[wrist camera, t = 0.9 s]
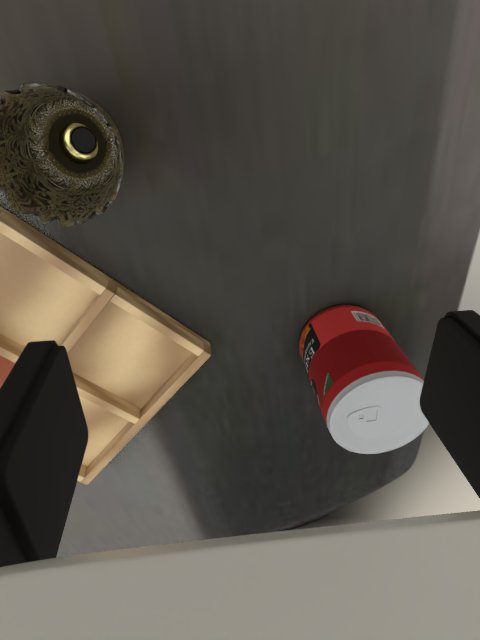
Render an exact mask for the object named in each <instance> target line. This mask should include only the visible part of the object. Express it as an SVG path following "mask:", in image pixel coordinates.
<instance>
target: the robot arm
mask: <svg viewBox="0 0 480 640" xmlns="http://www.w3.org/2000/svg"><path fill="white" fill-rule="evenodd" d="M420 408H421V411H422V413H423V414H424V416H425V417H426V419H427V420H428V422H429V423H430V425H431V426H432V428H433V429H434V431H435V432H436V434H437V435H438V437H439V438H440V440H441V441H442V443H443V444H444V446H445V447H446V449H447V450H448V452H449V453H450V455H451V456H452V458H453V459H454V461H455V462H456V463H457V465H458V467H459V468H460V470H461V471H462V473H463V474H464V476H465V477H466V478H467V480H468V482H469V483H470V484H471V486H472V487H473V489H474V490H475V492H476V493H477V495H478V496H479V498H480V315H478V314H477V313H476V312H474V311H473V310H467V311H453V312H448V313H447V314H446V315H445V317H444V318H441V319H440V320H439V322H438V325H437V329H436V333H435V338H434V342H433V346H432V350H431V354H430V358H429V362H428V367H427V371H426V375H425V379H424V383H423V387H422V391H421V396H420ZM87 443H88V427H87V423H86V419H85V416H84V412H83V409H82V405H81V401H80V398H79V394H78V390H77V387H76V383H75V380H74V376H73V372H72V369H71V365H70V361H69V358H68V354H67V351H66V348H65V347H64V346H58V344H57V343H56V341H54V340H49V341H35V342H28V344H27V345H26V346H25V348H24V350H23V351H22V353H21V355H20V356H19V358H18V360H17V361H16V363H15V365H14V366H13V368H12V370H11V371H10V373H9V375H8V377H7V378H6V380H5V382H4V383H3V385H2V387H1V388H0V640H480V511H472V512H462V513H451V514H441V515H432V516H422V517H412V518H403V519H393V520H383V521H373V522H364V523H354V524H345V525H335V526H326V527H317V528H307V529H299V530H289V531H280V532H270V533H261V534H252V535H243V536H234V537H225V538H216V539H207V540H198V541H189V542H181V543H172V544H163V545H154V546H145V547H136V548H128V549H120V550H112V551H104V552H97V553H89V554H81V555H73V556H65V557H58V558H56V555H57V552H58V548H59V544H60V541H61V537H62V533H63V530H64V526H65V523H66V519H67V515H68V512H69V508H70V505H71V501H72V497H73V494H74V490H75V487H76V483H77V479H78V476H79V472H80V468H81V465H82V461H83V458H84V454H85V450H86V447H87Z"/></svg>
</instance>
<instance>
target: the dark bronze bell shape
mask: <svg viewBox="0 0 480 640" xmlns="http://www.w3.org/2000/svg"><path fill="white" fill-rule="evenodd" d="M78 128H85V129H88V130H89V131H90V132H91V133H92V134H93V135H94V137H95V142H96V143H95V147H94V149H93V150H92V151H90V152H88V153H83V152H80V151H78V150H77V149H76V148H75V147H74V146H73V144H72V141H71V136H72V133H73V132H74V130H76V129H78ZM123 173H124V150H123V144H122V139H121V137H120V134H119V131H118V129H117V127H116V125H115V124H114V122H113V120H112V119H111V118H110V116H109V115H108V114H107V113H106V112H105V110H104V109H102V108H101V107H100V106H99V105H98V104H97V103H95V102H94V101H93V100H91V99H89V98H88V97H86V96H84V95H82V94H80V93H77V92H74V91H72V90H70V89H66V88H63V87H60V86H56V85H52V84H44V83H39V84H38V83H27V84H23V85H21V86H20V87H19V90H13V91H4V92H3V93H2V94H1V100H0V192H4V195H5V198H6V201H7V202H8V203H9V205H10V206H11V207H12V208H13V209H14V210H15V211H17V212H19V213H22V214H27V215H35V216H38V217H39V218H37V219H38V220H39V222H40V223H42V224H48V223H50V222H51V221H53V220H55V219H57V221H58V223H59V224H60V225H61V226H64V227H69V226H73V225H74V224H75V223H77V224H80V225H81V224H83V223H85V222H86V221H88V220H89V219H91V218H93V217H94V215H95V214H98V215H101V214H103V213H104V212H105V210H106V208H107V207H108V205H109V204H110V203H112V202H113V201H114V200H115V199H116V197H117V195H118V193H119V190H120V186H121V183H122V177H123Z"/></svg>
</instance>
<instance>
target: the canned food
mask: <svg viewBox="0 0 480 640" xmlns="http://www.w3.org/2000/svg"><path fill="white" fill-rule="evenodd" d="M299 349H300V355H301V357H302V360H303V363H304V366H305V368H306V371H307V374H308V376H309V379H310V382H311V384H312V387H313V390H314V393H315V395H316V398H317V401H318V403H319V406H320V409H321V411H322V414H323V417H324V419H325V422H326V424H327V427H328V429H329V432H330V433H331V435H332V437H333V439H334V440H335V441H336V442H337V443H338V444H339V445H340V446H342V447H343V448H345V449H347V450H349V451H352V452H356V453H363V454H375V453H382V452H387V451H390V450H393V449H397V448H399V447H401V446H403V445H405V444H407V443H409V442H410V441H412V440H413V439H415V438H416V437H417V436H418V435H420V434H421V433H422V432H423V431H424V429H425V428H426V427H427V426H428V424H429V422H428V420H427V419H426V417H425V416H424V414H423V413H422V411H421V408H420V396H421V391H422V387H423V383H424V380H423V378H422V377H421V375H420V374H419V372H418V371H417V370H416V368H415V367H414V366H413V364H412V363H411V362H410V360H409V359H408V358H407V356H406V355H405V354H404V352H403V351H402V350H401V349H400V347H399V346H398V345H397V343H396V342H395V341H394V339H393V338H392V337H391V335H390V334H389V333H388V331H387V330H386V329H385V327H384V326H383V325H382V323H381V322H380V321H379V319H378V318H377V317H376V316H375V315H374V314H372V313H371V312H369V311H367V310H365V309H363V308H361V307H358V306H354V305H338V306H333V307H330V308H327V309H325V310H323V311H321V312H319V313H318V314H316V315H315V316H314V317H313V318H312V319H311V320H310V321H309V322H308V323H307V324H306V326H305V327H304V329H303V331H302V334H301V338H300V346H299Z"/></svg>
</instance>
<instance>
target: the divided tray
mask: <svg viewBox="0 0 480 640" xmlns="http://www.w3.org/2000/svg"><path fill="white" fill-rule="evenodd" d="M49 340H54V341H56V343H57V344H58V346H64V347H65V348H66V351H67V354H68V358H69V361H70V365H71V369H72V372H73V376H74V380H75V383H76V387H77V390H78V394H79V398H80V401H81V405H82V409H83V412H84V416H85V419H86V423H87V427H88V443H87V447H86V450H85V454H84V458H83V461H82V465H81V468H80V472H79V476H78V479H77V481H79V482H81V483H84V484H86V485H88V484H89V483H90V482H91V481H92V480H93V479H94V478H95V477H96V475H97V474H98V473H99V472H100V471H101V470H102V469H103V468H104V467H105V466H106V465H107V464H108V463H109V462H110V461H111V460H112V459H113V458H114V457H115V456H116V455H117V453H118V452H119V451H120V450H121V449H122V448H123V447H124V446H125V445H126V444H127V443H128V442H129V441H130V440H131V439H132V438H133V437H134V436H135V435H136V434H137V433H138V431H139V430H140V429H141V428H142V427H143V426H144V425H145V424H146V423H147V422H148V421H149V420H150V419H151V418H152V417H153V416H154V415H155V414H156V413H157V412H158V411H159V409H160V408H161V407H162V406H163V405H164V404H165V403H166V402H167V401H168V400H169V399H170V398H171V397H172V396H173V395H174V394H175V393H176V392H177V391H178V390H179V389H180V387H181V386H182V385H183V384H184V383H185V382H186V381H187V380H188V379H189V378H190V377H191V376H192V375H193V374H194V373H195V372H196V371H197V370H198V369H199V368H200V367H201V365H202V364H203V363H204V362H205V361H206V360H207V359H208V358H209V357H210V356H211V346H210V342H208V341H207V340H205V339H204V338H202V337H201V336H199V335H198V334H196V333H195V332H193V331H191V330H190V329H188V328H187V327H185V326H184V325H182V324H181V323H179V322H178V321H176V320H175V319H173V318H172V317H170V316H168V315H167V314H165V313H164V312H162V311H161V310H159V309H158V308H156V307H155V306H153V305H152V304H150V303H148V302H147V301H145V300H144V299H142V298H141V297H139V296H138V295H136V294H135V293H133V292H132V291H130V290H128V289H127V288H125V287H124V286H122V285H121V284H119V283H118V282H116V281H115V280H113V279H112V278H110V277H108V276H107V275H105V274H104V273H102V272H101V271H99V270H98V269H96V268H95V267H93V266H92V265H90V264H89V263H87V262H85V261H84V260H82V259H81V258H79V257H78V256H76V255H75V254H73V253H72V252H70V251H69V250H67V249H65V248H64V247H62V246H61V245H59V244H58V243H56V242H55V241H53V240H52V239H50V238H49V237H47V236H45V235H44V234H42V233H41V232H39V231H38V230H36V229H35V228H33V227H32V226H30V225H29V224H27V223H26V222H24V221H22V220H21V219H19V218H18V217H16V216H15V215H13V214H12V213H10V212H9V211H7V210H6V209H4V208H2V207H1V206H0V388H1V387H2V385H3V383H4V382H5V380H6V378H7V377H8V375H9V373H10V371H11V370H12V368H13V366H14V365H15V363H16V361H17V360H18V358H19V356H20V355H21V353H22V351H23V350H24V348H25V346H26V345H27V344H28V342H35V341H49Z"/></svg>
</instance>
